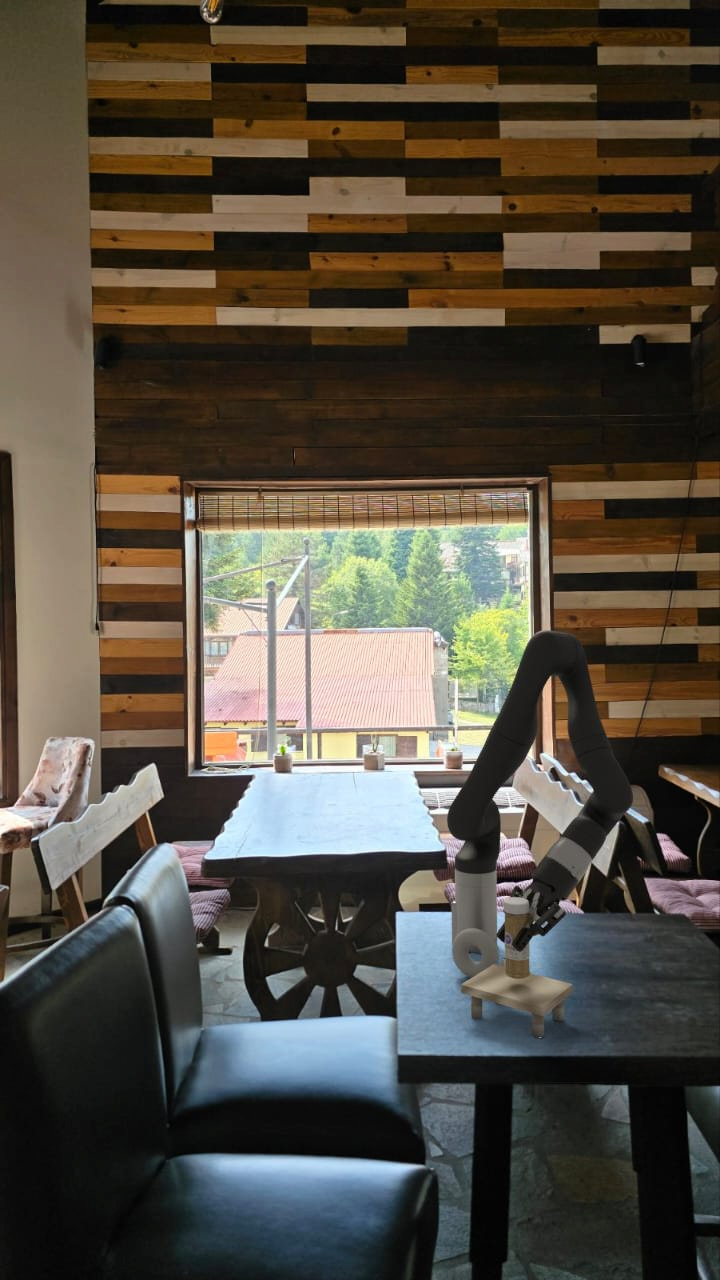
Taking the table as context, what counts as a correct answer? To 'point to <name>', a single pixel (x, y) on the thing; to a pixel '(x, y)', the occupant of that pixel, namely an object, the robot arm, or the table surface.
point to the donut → (480, 941)
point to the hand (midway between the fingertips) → (508, 943)
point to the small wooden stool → (518, 995)
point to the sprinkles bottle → (514, 922)
